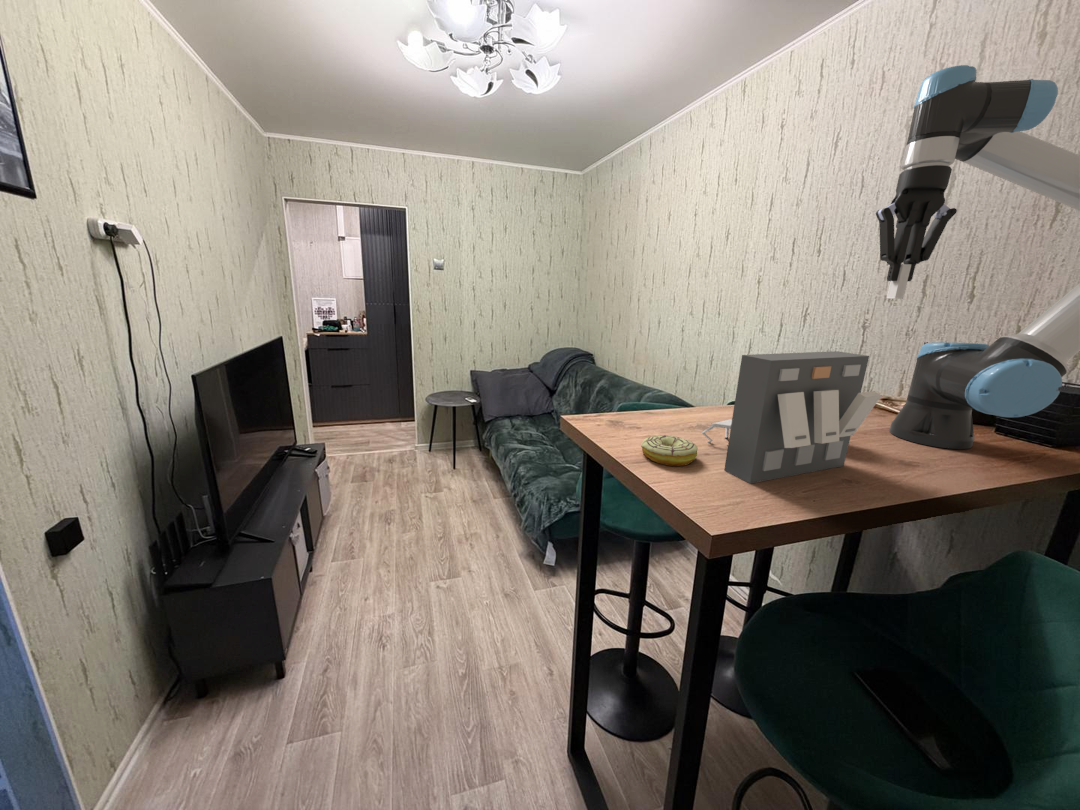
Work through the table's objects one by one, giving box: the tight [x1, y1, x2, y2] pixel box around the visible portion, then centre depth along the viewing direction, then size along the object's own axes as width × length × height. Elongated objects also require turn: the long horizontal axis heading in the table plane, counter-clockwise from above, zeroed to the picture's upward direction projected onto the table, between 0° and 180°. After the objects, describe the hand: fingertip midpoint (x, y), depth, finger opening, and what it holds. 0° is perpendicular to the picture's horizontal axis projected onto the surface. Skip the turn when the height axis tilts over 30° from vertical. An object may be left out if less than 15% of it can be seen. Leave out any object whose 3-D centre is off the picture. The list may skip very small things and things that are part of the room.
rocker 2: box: [839, 390, 882, 437], centre depth 79 cm, size 2×4×9 cm, turn 112°
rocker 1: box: [778, 392, 811, 448], centre depth 72 cm, size 2×4×9 cm, turn 112°
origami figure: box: [701, 418, 732, 443], centre depth 96 cm, size 12×8×5 cm
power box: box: [724, 350, 870, 484], centre depth 81 cm, size 6×25×22 cm, turn 112°
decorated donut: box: [640, 435, 699, 467], centre depth 87 cm, size 10×11×4 cm
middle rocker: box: [814, 390, 839, 444], centre depth 75 cm, size 2×4×9 cm, turn 112°
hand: (894, 298), depth 87 cm, fingers closed
